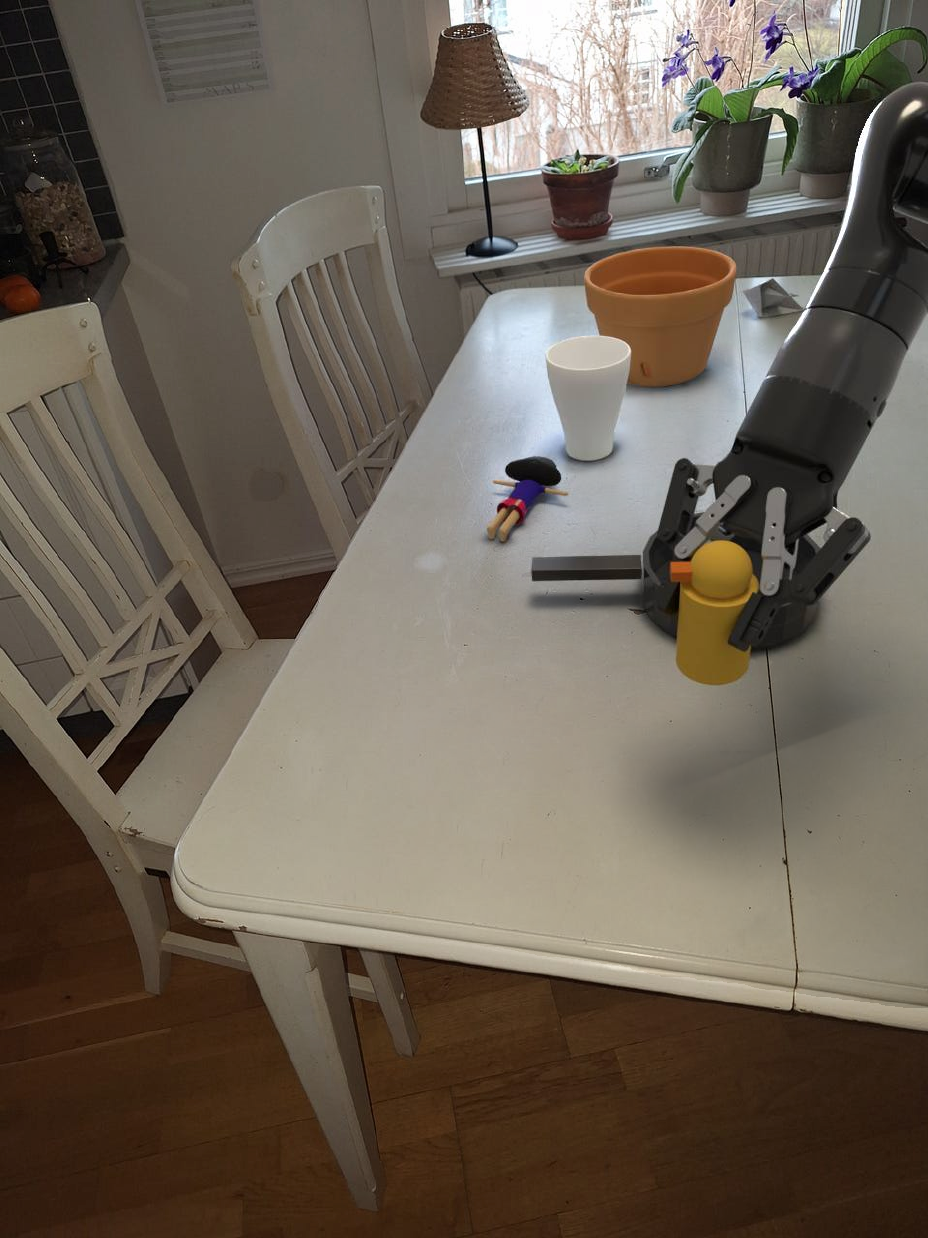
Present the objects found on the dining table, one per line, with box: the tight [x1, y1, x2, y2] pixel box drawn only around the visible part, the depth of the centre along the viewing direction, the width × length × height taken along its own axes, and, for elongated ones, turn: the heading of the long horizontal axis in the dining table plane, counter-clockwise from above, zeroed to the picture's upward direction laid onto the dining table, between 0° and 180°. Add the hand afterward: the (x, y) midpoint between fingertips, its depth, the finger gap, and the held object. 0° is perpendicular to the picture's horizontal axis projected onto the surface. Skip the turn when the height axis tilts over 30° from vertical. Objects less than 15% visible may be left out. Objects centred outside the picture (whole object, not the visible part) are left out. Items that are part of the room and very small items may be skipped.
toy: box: [486, 455, 570, 543], centre depth 106 cm, size 10×5×15 cm
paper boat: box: [742, 277, 805, 319], centre depth 144 cm, size 12×6×9 cm
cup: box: [544, 335, 631, 462], centre depth 113 cm, size 10×10×14 cm
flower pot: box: [583, 245, 738, 388], centre depth 130 cm, size 21×21×15 cm
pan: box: [641, 511, 822, 653], centre depth 89 cm, size 17×17×5 cm
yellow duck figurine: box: [670, 540, 759, 686], centre depth 60 cm, size 6×5×10 cm
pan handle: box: [530, 554, 642, 582], centre depth 90 cm, size 11×2×1 cm, turn 84°
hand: (700, 629), depth 60 cm, fingers closed on yellow duck figurine, 5 cm apart
